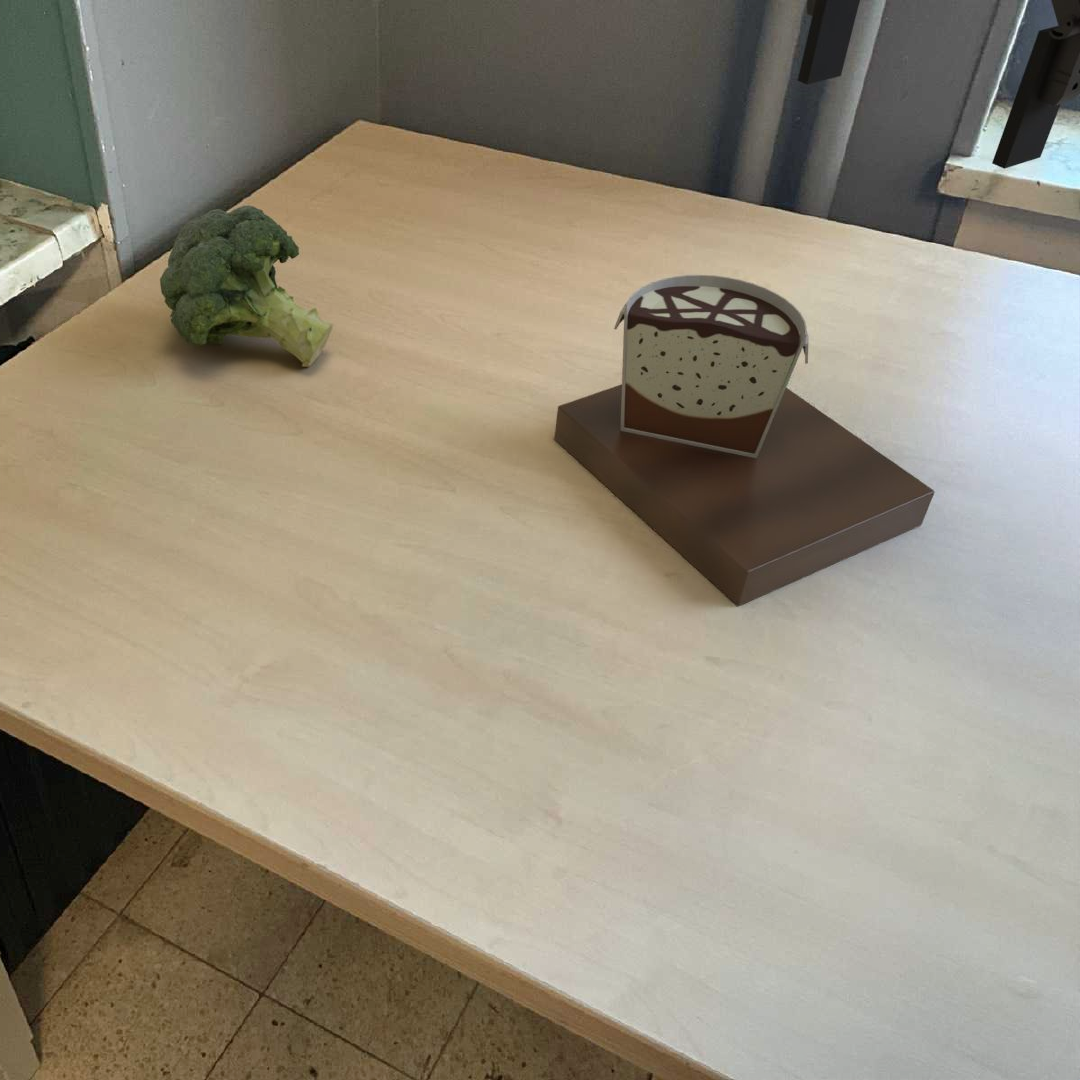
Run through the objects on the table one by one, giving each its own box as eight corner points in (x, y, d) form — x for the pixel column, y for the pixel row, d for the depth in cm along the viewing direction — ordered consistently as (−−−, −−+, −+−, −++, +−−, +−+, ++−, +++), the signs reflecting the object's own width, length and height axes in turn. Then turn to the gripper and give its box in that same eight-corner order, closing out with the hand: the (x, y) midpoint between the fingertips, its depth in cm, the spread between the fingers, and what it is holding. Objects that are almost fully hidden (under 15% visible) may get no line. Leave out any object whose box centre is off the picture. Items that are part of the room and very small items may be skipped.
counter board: (921, 525, 78) (935, 491, 76) (738, 606, 73) (747, 572, 71) (721, 379, 91) (729, 346, 89) (553, 439, 86) (557, 405, 84)
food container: (789, 413, 83) (824, 288, 76) (779, 463, 79) (815, 335, 72) (617, 380, 86) (636, 258, 80) (599, 426, 82) (617, 301, 75)
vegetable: (262, 399, 87) (109, 276, 87) (283, 421, 99) (150, 313, 100) (364, 272, 86) (210, 150, 87) (372, 310, 99) (238, 203, 100)
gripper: (782, -382, 57) (705, 61, 71) (1300, -350, 40) (1065, 220, 54) (892, -390, 59) (796, 39, 73) (1421, -362, 43) (1167, 185, 57)
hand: (910, 117), depth 64 cm, fingers open, 13 cm apart
